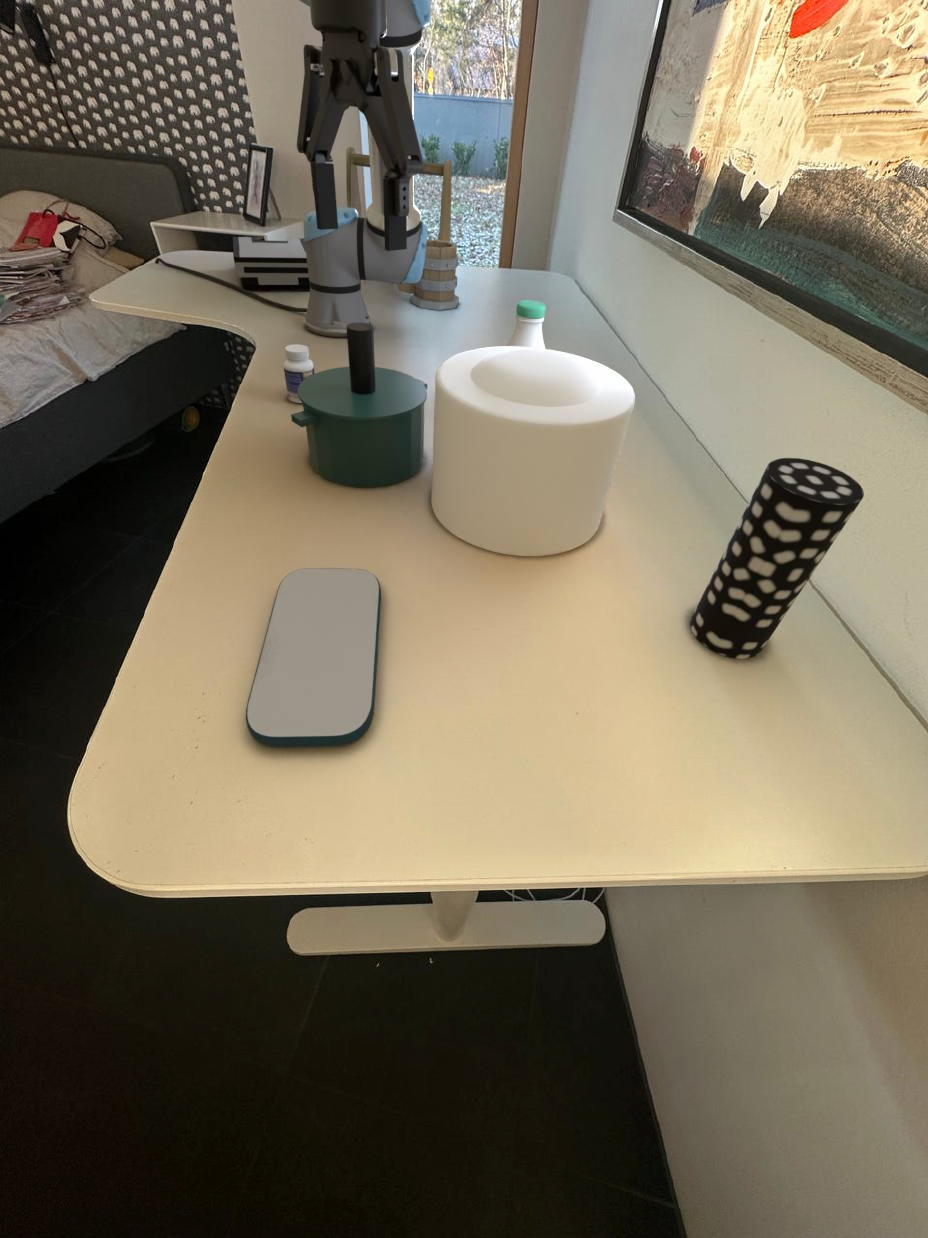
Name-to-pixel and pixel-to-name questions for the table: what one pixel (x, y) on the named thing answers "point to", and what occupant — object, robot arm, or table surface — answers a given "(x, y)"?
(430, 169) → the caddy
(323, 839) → the table surface
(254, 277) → the game console
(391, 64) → the robot arm
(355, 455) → the pot
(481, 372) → the container
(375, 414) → the lid
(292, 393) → the pill bottle
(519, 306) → the milk bottle
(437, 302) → the tankard
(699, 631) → the white-spotted black cylinder
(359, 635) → the external hard drive
